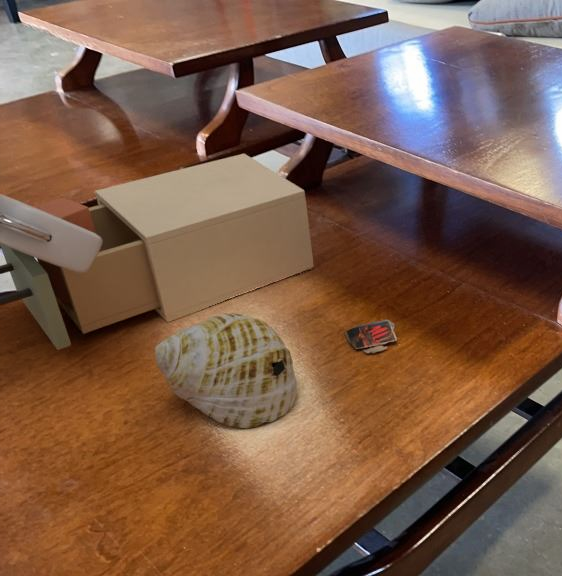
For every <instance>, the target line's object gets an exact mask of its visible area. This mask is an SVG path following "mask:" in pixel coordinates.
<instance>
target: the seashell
mask: <svg viewBox="0 0 562 576" xmlns="http://www.w3.org/2000/svg"><path fill="white" fill-rule="evenodd" d="M154 359H155V361H156V362H155V363H156V366H157V368H158V369H159V371H160V372H161V373H162V374H163V375H164V377H165V380H166V382H167V384H168V386H169V388H170V389H171V391H172V392H173V393H174V394H175V395H176V397H178V398H180V399H181V400H184V401H186V402H188V404H189V405H191V406H193V407H194V408H196V409H198V410H199V411H200V412H201V413H203V414H205V415H206V416H208V417H210V418H212V419H213V420H215V421H217V422H219V423H221V424H223V425H225V426H228V427H229V426H230V427H233V428H241V429H243V428H244V429H250V428H251V429H252V428H256V427H258V426H260V425H262V424H263V423H272V422H274V421H276V420H279V419H281V418H282V417H283V416H284V415H286V414H287V413H288V412H289V411H290V410H291V408H292V407H293V406H294V404H295V401H296V398H297V394H298V384H297V383H298V381H297V377H296V375H295V374H296V373H295V369H294V363H293V357H292V354H291V352H290V350H289V349H288V348H287V347H286V345H285V342H284V339H282V338H281V337H280V335H279V333H278V332H276V330H274V328H272V326H270V325H269V324H268V323H267V322H266V321H263V320H261V319H259V318H255V317H252V316H250V315H249V316H248V315H244V314H239V313H231V312H230V313H222V314H219V315H215V316H212V317H209V318H207V319H205V320H204V321H201V322H198V323H196V324H194V325H192V326H189V327H186V328H183V329H181V330H178V331H177V332H176V333H174V334H172V335H171V336H169V337H166V338H164V339H163V340H162V341H161V342H160V343H158V344H157V345H155V348H154Z"/></svg>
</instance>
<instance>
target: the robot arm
mask: <svg viewBox="0 0 562 576" xmlns="http://www.w3.org/2000/svg"><path fill="white" fill-rule="evenodd" d="M35 207H36V206H33V205H30V204H27V203H25V202H22V201H20V200H18V199H15V198H12V197H11V196H8V195H5V194H2V193H0V244H2V245H4V246H7V247H9V248H12V249H14V250H17V251H19V252H22V253H25V254H27V255H30V256H33V257H34V258H35V259H37V258H38V259H41V260H43V261H46V262H49V263H51V264H54V265H57V266H59V267H62V268H65V269H67V270H70V271H73V272H77V273H86V272H87V271H88V270H89V269H90V267H91V265H92V264H93V262H94V260H95V258H96V256H97V254H98V252H99V250H100V248H101V245H102V238H101V237H100V236H98V235H97V234H95V233H93V232H91V231H89V230H86V229H84V228H82V227H79V226H77V225H75V224H72V223H70V222H68V221H65V220H63V219H61V218H58V217H56V216H54V215H51V214H49V213H47V212H44V211H42V210H40V209H37V208H35Z"/></svg>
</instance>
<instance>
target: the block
mask: <svg viewBox="0 0 562 576" xmlns="http://www.w3.org/2000/svg"><path fill="white" fill-rule="evenodd" d="M34 207H35V208H37V209H40V210H42V211H44V212H47V213H49V214H51V215H54V216H56V217H58V218H61V219H63V220H65V221H68V222H70V223H72V224H75V225H77V226H79V227H82V228H84V229H86V230H89V231H91V232H93V233H95V234H96V232H95V229H94V225H93V222H92V218H91V215H90V211H89V208H90V207H89V206H86V205H84V204H81V203H79V202H76V201H73V200H71V199H68V198H65V197H58V198H56V199H53V200H51V201H48V202H45V203H43V204H40V205H37V206H34ZM99 252H101V250H99ZM37 261H39V264H40V265H41V266H42V268H43V269H44V270H45V271H46V272H47V274H48V277H49V280H50V283H51V286H52V289H53V292H54V295H55V297H56V298H58V299H61V300H63V301H65V302H67V303H69V304H71V305H72V303H71V300H70V297H69V294H68V290H67V287H66V284H65V281H64V278H63V275H62V272H61V269H60V267H59V266H57V265H54V264H51V263H49V262H46V261H43V260H41V259H38V260H37Z"/></svg>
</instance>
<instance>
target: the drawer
mask: <svg viewBox="0 0 562 576" xmlns="http://www.w3.org/2000/svg"><path fill="white" fill-rule="evenodd" d="M88 208H89V211H90V215H91V218H92V222H93V225H94V229H95V232H96V234H97V235H98V236H100V237H101V238H102V245H101V248H100V250H101V252H98V254H97V256H96V258H95V260H94V262H93V264H92V265H91V267H90V269H89V270H88V271H87V272H86V273H77V272H73V271H70V270H67V269H65V268H62V267H60V269H61V272H62V275H63V278H64V281H65V284H66V287H67V290H68V294H69V297H70V300H71V303H72V305H71V304H69V303H67V302H65V301H63V300H61V299H58V298H56V297H55V295H54V292H53V289H52V286H51V283H50V280H49V277H48V274H47V272H46V271H45V270H44V269H43V268H42V266H41V265H40V264H39V261H38V258H35V257H33V256H30V255H27V254H25V253H22V252H19V251H17V250H14V249H12V248H9V247H7V246H4V245H2V244H0V249H1V252H2V255H3V257H4V261H5V263H6V264H2V265H0V275H3V274H7V273H10V276H11V280H12V281H13V284H14V287H15V290H16V291H15V292H11V293H7V294H4V295H1V296H0V307H1V306H4V305H7V304H10V303H14V302H17V301H22V303H23V305H24V306H25V307H26V308H27V309H28V311H29V312H30V313H31V315H32V316H33V318H34V320H35V321H36V322H37V323H38V325H39V326H40V328H41V329H42V331H43V332H44V333H45V335H46V336H47V337H48V339H49V340H50V342H51V343H52V344H53V346H54V347H55V349H56V350H57V351H59V350H62V349H65V348H68V347H70V346H72V343H71V340H70V337H69V334H68V331H67V328H66V325H65V321H64V319H63V316H62V313H61V310H60V307H59V305H60V306H61V308H62V309H63V310H64V312H65V313H66V314H67V316H68V317H69V319H71V320H72V321H73V323H74V324H75V326H76V327H77V328H78V330H79V331H80V332H81V333H82V334H84V335H85V334H86V333H87V334H88V333H90V332H92V331H95V330H98V329H101V328H104V327H107V326H110V325H113V324H115V323H118V322H121V321H125V320H127V319H129V318H132V317H136V316H138V315H141V314H144V313H146V312H150V311H153V310H155V308H158V307H161V305H160V301H159V297H158V293H157V289H156V285H155V282H154V278H153V274H152V270H151V266H150V262H149V258H148V254H147V250H146V246H145V241H143V240H142V239H141V238H140V237H139V236H138V235H137V234H136V233H135V232H134V231H133V230H131V229H130V228H129V227H128V226H127V225H126V224H125V223H124V222H123V221H122V220H121V219H120V218H118V217H117V216H116V215H115V214H114V213H113V212H112V211H111V210H110V209H109V208H108V207H107V206H105V205H104V204H102V205H98V204H97V205H93V206H91V207H88Z"/></svg>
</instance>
